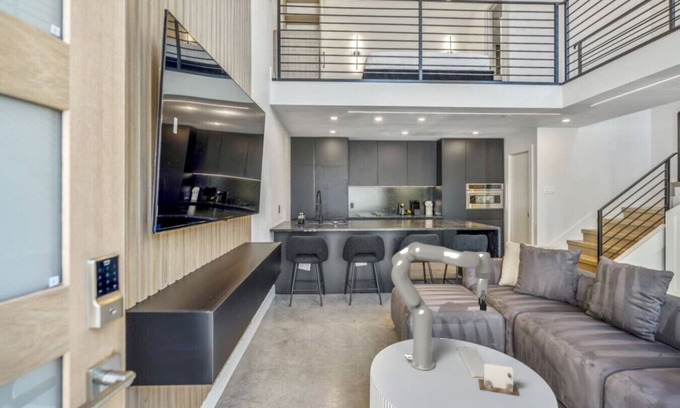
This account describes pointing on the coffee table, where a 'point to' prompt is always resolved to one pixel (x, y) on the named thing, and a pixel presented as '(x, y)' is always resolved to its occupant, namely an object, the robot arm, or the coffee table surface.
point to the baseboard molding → (473, 362)
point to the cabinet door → (498, 375)
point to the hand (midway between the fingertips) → (482, 307)
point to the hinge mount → (509, 388)
